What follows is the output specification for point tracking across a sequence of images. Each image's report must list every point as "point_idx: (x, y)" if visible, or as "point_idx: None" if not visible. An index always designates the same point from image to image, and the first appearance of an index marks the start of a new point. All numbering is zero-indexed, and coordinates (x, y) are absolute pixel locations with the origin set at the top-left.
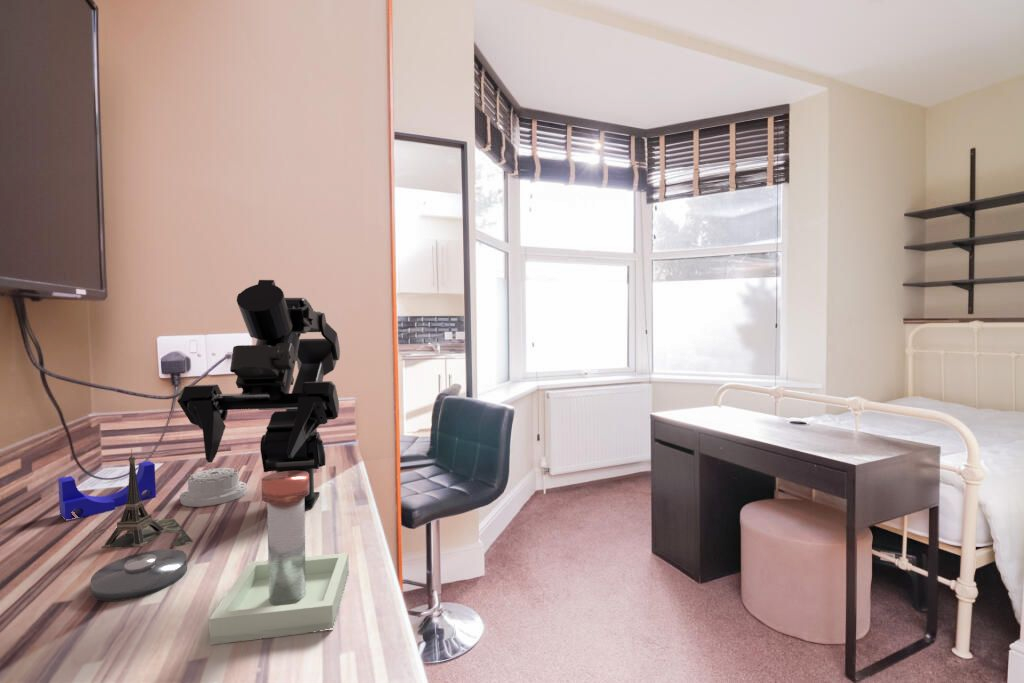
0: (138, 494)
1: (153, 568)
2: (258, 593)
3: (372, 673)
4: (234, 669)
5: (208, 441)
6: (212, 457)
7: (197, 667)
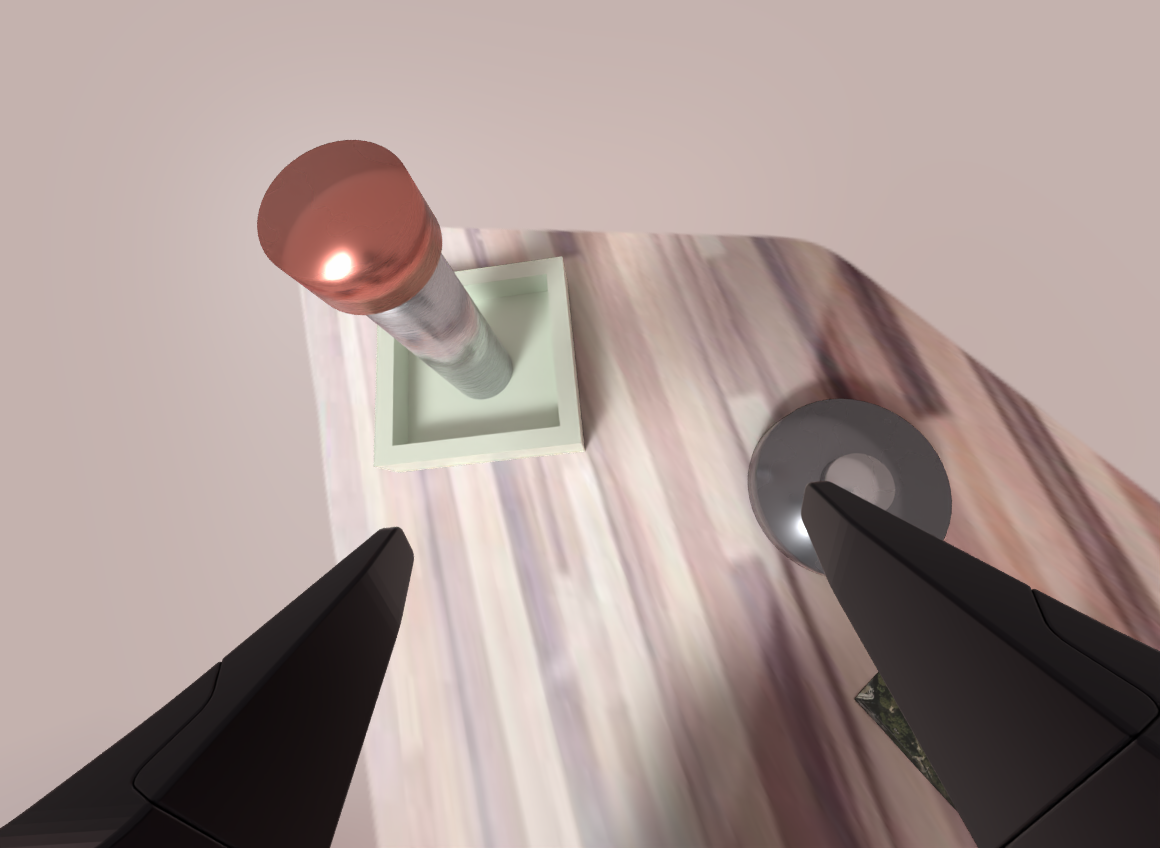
0: None
1: (814, 476)
2: (539, 384)
3: None
4: (510, 237)
5: (907, 540)
6: (814, 525)
7: (561, 241)
